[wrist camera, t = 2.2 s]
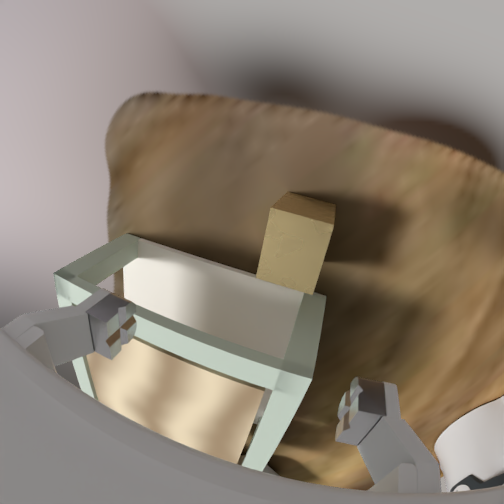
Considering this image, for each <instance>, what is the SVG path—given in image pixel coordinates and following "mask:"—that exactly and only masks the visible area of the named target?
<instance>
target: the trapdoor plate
mask: <svg viewBox="0 0 504 504" xmlns="http://www.w3.org/2000/svg"><path fill="white" fill-rule="evenodd" d="M86 356H87V360H88V364H89V368H90V372H91V376H92V380H93V383H94V387H95V390H96V394H97V397H98V400H99V402H101V403H103V404H104V405H106V406H108V407H109V408H111V409H113V410H115V411H116V412H118V413H120V414H122V415H124V416H125V417H127V418H129V419H131V420H133V421H135V422H137V423H139V424H141V425H143V426H145V427H147V428H149V429H151V430H153V431H155V432H157V433H159V434H161V435H163V436H166V437H168V438H170V439H172V440H174V441H177V442H179V443H181V444H184V445H186V446H189V447H191V448H194V449H196V450H199V451H201V452H204V453H206V454H209V455H212V456H215V457H217V458H220V459H223V460H226V461H229V462H232V463H235V464H237V463H238V460H239V458H240V455H241V453H242V450H243V448H244V445H245V443H246V440H247V437H248V435H249V432H250V430H251V427H252V424H253V422H254V419H255V416H256V414H257V411H258V408H259V405H260V403H261V400H262V397H263V394H264V392H265V389H266V388H265V387H261V386H258V385H255V384H252V383H249V382H247V381H244V380H241V379H238V378H235V377H232V376H230V375H227V374H224V373H221V372H219V371H216V370H213V369H211V368H208V367H206V366H203V365H201V364H198V363H196V362H193V361H191V360H188V359H186V358H183V357H181V356H179V355H176V354H174V353H172V352H169V351H167V350H165V349H163V348H160V347H158V346H156V345H154V344H151V343H149V342H147V341H145V340H143V339H141V338H139V337H137V336H133V339H132V340H131V341H130V342H129V343H128V344H124V345H122V350H121V351H120V352H119V353H118V354H117V355H116V356H115V357H114V358H113V360H110V359H108V358H106V357H104V356H102V355H100V354H98V353H97V352H95V351H94V353H91V354H88V355H86Z"/></svg>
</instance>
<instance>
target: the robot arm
mask: <svg viewBox="0 0 504 504" xmlns="http://www.w3.org/2000/svg"><path fill="white" fill-rule="evenodd" d="M135 313H136V304H135V303H133V302H132V301H130V300H127V299H125V298H123V297H121V296H119V295H117V294H115V293H112V292H110V291H108V290H106V289H99V290H98V291H96V292H95V293H94V294H92V295H91V296H89V297H88V298H87V299H85V300H84V301H82V302H81V303H80V304H78V305H77V306H76V307H75V306H73V305H72V306H66V307H60V308H55V309H49V310H43V311H38V312H31V313H25V314H22V315H20V316H19V317H17V318H16V319H14V320H13V321H12V322H10V323H9V324H7V325H6V326H5V327H3V328H1V327H0V504H504V396H502V397H501V398H499V399H497V400H495V401H493V402H490V403H487V404H485V405H483V406H480V407H478V408H476V409H474V410H472V411H471V412H469V413H467V414H466V415H464V416H462V417H461V418H459V419H458V420H457V421H455V422H454V423H453V424H451V425H450V426H449V427H448V428H447V429H446V430H445V431H444V432H443V433H442V434H441V435H440V437H439V438H438V439H437V441H436V443H435V448H434V449H435V453H436V455H437V457H438V459H439V462H440V467H441V470H442V471H443V475H444V479H445V483H446V487H447V492H442V493H441V481H440V471H439V464H438V462H437V461H436V460H435V458H434V457H433V456H432V454H431V453H430V452H429V451H428V449H427V448H426V447H425V445H424V444H423V443H422V442H421V440H420V439H419V438H418V436H417V435H416V434H415V432H414V431H413V430H412V429H411V427H410V426H409V425H408V424H407V422H406V421H405V420H404V419H401V416H400V407H399V399H398V391H397V386H396V384H393V383H387V382H381V381H376V380H371V379H367V378H362V377H358V376H356V377H355V378H354V379H353V381H352V382H351V388H350V390H349V391H347V392H345V394H344V396H343V397H342V400H341V402H340V405H339V409H338V418H339V419H340V422H339V423H338V425H337V427H336V437H335V441H337V442H342V443H346V444H351V445H356V446H357V448H358V450H359V452H360V454H361V456H362V458H363V460H364V462H365V464H366V466H367V469H368V471H369V473H370V475H371V477H372V479H373V481H374V483H375V485H374V486H373V487H371V488H370V489H369V490H367V491H362V490H353V489H345V488H338V487H331V486H325V485H319V484H314V483H308V482H303V481H298V480H294V479H289V478H285V477H281V476H277V475H273V474H269V473H265V472H262V471H258V470H255V469H251V468H248V467H244V466H241V465H238V464H235V463H232V462H229V461H226V460H223V459H220V458H217V457H215V456H212V455H209V454H206V453H204V452H201V451H199V450H196V449H194V448H191V447H189V446H186V445H184V444H181V443H179V442H177V441H174V440H172V439H170V438H168V437H166V436H163V435H161V434H159V433H157V432H155V431H153V430H151V429H149V428H147V427H145V426H143V425H141V424H139V423H137V422H135V421H133V420H131V419H129V418H127V417H125V416H124V415H122V414H120V413H118V412H116V411H115V410H113V409H111V408H109V407H108V406H106V405H104V404H103V403H101V402H99V401H98V400H96V399H94V398H93V397H91V396H90V395H88V394H86V393H85V392H83V391H82V390H80V389H79V388H77V387H76V386H74V385H73V384H71V383H70V382H68V381H67V380H65V379H64V378H63V377H61V376H60V375H58V374H57V372H56V369H55V366H57V365H61V364H63V363H66V362H69V361H72V360H75V359H77V358H80V357H83V356H86V355H88V354H91V353H94V351H95V352H97V353H98V354H100V355H102V356H104V357H106V358H108V359H110V360H113V358H114V357H115V356H116V355H117V354H118V353H119V352H120V351H121V350H122V345H124V344H128V343H129V342H130V341H131V340H132V339H133V336H134V334H135V332H136V328H137V321H136V320H135V318H134V316H133V315H134V314H135Z"/></svg>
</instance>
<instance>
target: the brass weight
mask: <svg viewBox="0 0 504 504" xmlns="http://www.w3.org/2000/svg"><path fill="white" fill-rule="evenodd" d="M335 211H336V205H335V204H331V203H328V202H324V201H321V200H317V199H314V198H310V197H306V196H303V195H299V194H295V193H291V192H287V193H286V194H285V195H284V196H283V197H282V198H280V199H279V200H278V201H277V202H276V203H275V204H274V205H273V206H272V207H271V209H270V214H269V219H268V223H267V228H266V233H265V237H264V242H263V247H262V251H261V256H260V261H259V265H258V270H257V274H256V278H258V279H261V280H264V281H267V282H271V283H274V284H277V285H281V286H284V287H287V288H290V289H294V290H297V291H300V292H304V293H307V294H310V295H313V292H314V289H315V286H316V283H317V280H318V277H319V273H320V270H321V267H322V264H323V261H324V257H325V254H326V251H327V248H328V244H329V241H330V237H331V234H332V231H333V227H334V221H335Z"/></svg>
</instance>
